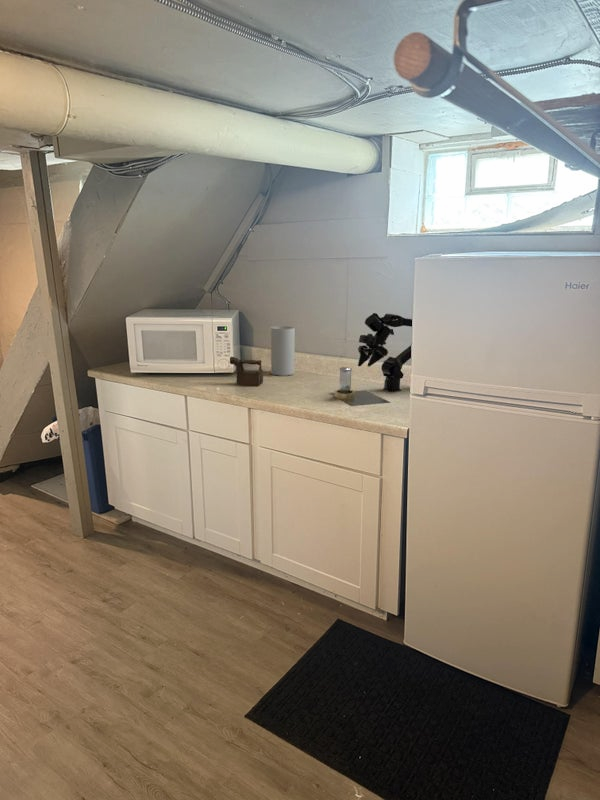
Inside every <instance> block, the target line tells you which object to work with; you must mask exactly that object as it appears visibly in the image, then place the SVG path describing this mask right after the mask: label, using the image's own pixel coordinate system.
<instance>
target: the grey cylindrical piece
mask: <svg viewBox="0 0 600 800" xmlns="http://www.w3.org/2000/svg"><path fill="white" fill-rule="evenodd" d="M352 370H353V369H352V367H346V366H345V367H344V366H343V367H339V386H338V387H339V389H338V390H339V393H344V394H348V393H351V390H352V389H351V388H352Z"/></svg>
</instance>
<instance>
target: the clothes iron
mask: <svg viewBox="0 0 600 800" xmlns="http://www.w3.org/2000/svg"><path fill="white" fill-rule="evenodd" d="M262 362H263V361H262V359H261V360H259V359H258V360H256V359H245V358H242V359H239V358H237V357H234V356H230V357H229V364H230V365H234V366H235V368H236V384H237V385H241V386H247V387H248V386H249V387H260V386H261V385H262V384H263V383H264V369H263V368H262ZM244 364H245V365H246V364H247V365H258V366H259V367H258V370H256V369H255V370H252V369H251V370H248V369H245V367H244Z"/></svg>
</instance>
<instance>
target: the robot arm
mask: <svg viewBox="0 0 600 800" xmlns="http://www.w3.org/2000/svg"><path fill="white" fill-rule="evenodd" d="M412 319H413V318H406V317H403V316H401V315H398V314H393V313H385V315H383V317H380V316H379V314H378V313H376V312H373V313H372V314H371V315H369V316H367V317H366V319H365V320H364V324H365V325H366V327H368V328H369V329H370V330H371V331H372V332H374V333H375V334H374V335H373V334H372V333H367V334H360V335H359V338H358V342H359V343H361V344H362V345H359V346H358V347H357V351H358V353H359V359H358V363H357V366H358V367H361V366H362V365H363V364H365V363H366V362H367V361H368V360H369V361H368V363H367V365H366V366H367V368H368V367H369V368H370V367H371V366H373V365H374V364H376V363H377V362H378V361H380V360H381V359H383V358H385V357H387V355H388V354H389V351H388V349H387V348H386V347H385V346H386V344H387V342H386V341H387V339H388V337H389V336H395V333H394V328H398V327H403V326H404V327H411V328H413V327H412ZM390 327H391V328H390ZM363 344H365V345H363ZM411 345H412V344H410V345H409V346H407V348H405V349H404V350H403V351H401V353H399V354H398V355H397V356H396V357H393V356H388V358H386V359H385V360H383V362H382V364H381V372H382V375H383V377H385V378H384V383H383V385H384V387H383V389H384V390H385V391H388V392H399V391H402V389H401V386H400V385H401V379H403V378H404V373H403V371H401V370H402V369H403V365H405V363H407V362H408V361H410V360H411Z"/></svg>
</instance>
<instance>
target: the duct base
mask: <svg viewBox="0 0 600 800" xmlns="http://www.w3.org/2000/svg"><path fill="white" fill-rule="evenodd" d="M328 395H331V396H332V397H334V398H336V399H338V400H339V401H341V402H343V403H345V404H346V405H348V406H350V407H356V406H358V407H359V406H369V405H377V404H378V405H379V404H380V405H381V404H391V403H392V402H391V401H388V400H386V399H384V398H383V397H380V396H379V395H377V394H375V393H372V392H371V391H368V390H355V391H354V390H352V389H351V393H348V394H344V393H339V389H337V390H335V391H334V392H330V393H328Z"/></svg>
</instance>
